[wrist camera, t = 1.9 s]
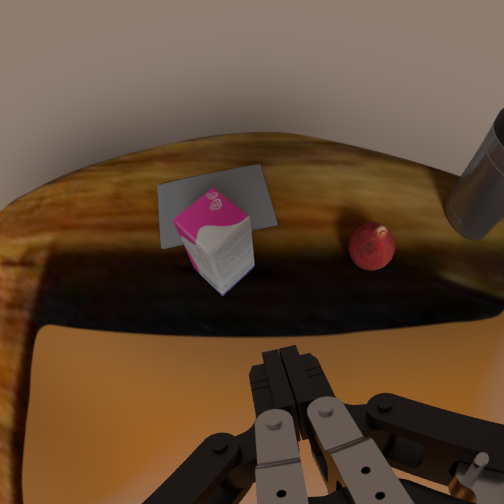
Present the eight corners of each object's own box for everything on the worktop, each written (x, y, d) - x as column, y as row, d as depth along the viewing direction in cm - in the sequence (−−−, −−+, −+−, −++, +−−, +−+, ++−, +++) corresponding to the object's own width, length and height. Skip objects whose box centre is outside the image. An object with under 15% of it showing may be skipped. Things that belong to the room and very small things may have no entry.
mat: (260, 165, 49) (259, 163, 48) (277, 225, 44) (277, 223, 43) (158, 187, 48) (157, 185, 47) (162, 249, 43) (161, 247, 42)
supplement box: (256, 265, 41) (252, 217, 31) (222, 297, 40) (206, 257, 29) (225, 238, 43) (212, 185, 33) (192, 267, 42) (168, 221, 31)
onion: (363, 288, 39) (382, 261, 32) (334, 255, 41) (346, 223, 34) (392, 262, 40) (414, 233, 33) (364, 232, 43) (380, 198, 35)
